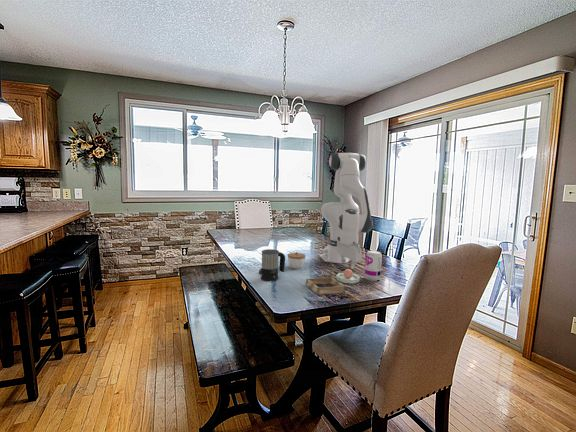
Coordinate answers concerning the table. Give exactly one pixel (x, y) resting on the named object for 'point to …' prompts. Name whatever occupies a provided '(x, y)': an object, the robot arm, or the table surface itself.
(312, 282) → the wooden square frame
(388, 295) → the table surface
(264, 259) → the milk frother
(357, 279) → the saucer
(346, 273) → the ball
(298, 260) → the lidded jar
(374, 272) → the soda can
